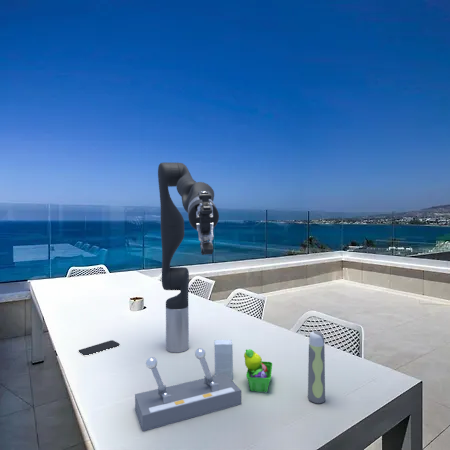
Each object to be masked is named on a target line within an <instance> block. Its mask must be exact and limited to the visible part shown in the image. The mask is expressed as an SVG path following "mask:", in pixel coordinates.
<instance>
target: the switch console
mask: <svg viewBox="0 0 450 450" xmlns="http://www.w3.org/2000/svg"><path fill="white" fill-rule="evenodd" d="M212 378H213V381H214V382H215V384H211V387H210V386H209V384H208V383H207V382H206V380H207V378H206V376H205V375H204V377H203V378H200V379H196V380H192V381H191V380H190V381H187V382H181V383H178V384H177V383H176V384H173V385H169V386H166V384H163V385H164V387H165V389H166V392H167V394H168V395H165V396H163V398H162V396H161V394H160V390H159V387H158V386H157V388H156V389H151V390H148V391H143V392H139V393H135V394H134V408H135V412H136V415H137V418H138V421H139V425H140V428H141V430H142V432H145V431H149V430H152V429H156V428H160V427H163V426H167V425H171V424H174V423H177V422H181V421H186V420H189V419H192V418H196V417H199V416H203V415H206V414H211V413H214V412H216V411H220V410H225V409H228V408H232V407H235V406H238V405H242V389H241V388H240V387H239V386H238V385H237V384H236V383H235V382H234V381H233V380H231V379H230V378H229V377H228V376H227V375H226V374H221V375H217V376H215V375H214V376H213V375H212Z"/></svg>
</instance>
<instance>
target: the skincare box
mask: <svg viewBox="0 0 450 450" xmlns="http://www.w3.org/2000/svg"><path fill="white" fill-rule="evenodd" d="M213 343H214V344H213V346H214V347H213V348H214V376H217V375H221V374H226V375H227V376H228V377H229V378H230V379H231V380H232V381H233V379H234V373H233V372H234V367H233V363H234V362H233V361H234V360H233V341H232V339H215V340H214V342H213Z"/></svg>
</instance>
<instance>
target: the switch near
mask: <svg viewBox="0 0 450 450" xmlns="http://www.w3.org/2000/svg"><path fill="white" fill-rule="evenodd" d="M145 366H146V368H147V369H149V370H150V371H151V373H152V375H153V377H154V380H155V383H156V385H157V388H158V387H159V390H160V394H161V396H162V398H163V396H165V395H168V394H167V392H166V389H165V387H164V385H165V384H164V382H163V379H162V377H161V375H160V373H159V370H158V368H157V366H158V359H157V358H155V357H154V356H151V357H148V358H147V360H146V361H145Z"/></svg>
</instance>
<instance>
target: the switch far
mask: <svg viewBox="0 0 450 450" xmlns="http://www.w3.org/2000/svg"><path fill="white" fill-rule="evenodd" d="M194 356H195V358H196V359H198V360H199V362H200V365H201V367H202V370H203V374H204V376H206V378H207V380H206V382H207V383H208V384H209V386H210V387H211V384H215V382H214V381H213V378H212V376H213V375H212V373H211V371H210V368H209V365H208V362H207V360H206V350H205V349H204V348H202V347H198V348H197V349H196V350H195V352H194Z"/></svg>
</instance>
